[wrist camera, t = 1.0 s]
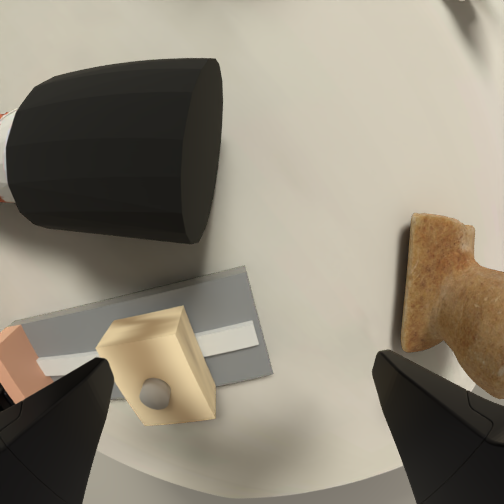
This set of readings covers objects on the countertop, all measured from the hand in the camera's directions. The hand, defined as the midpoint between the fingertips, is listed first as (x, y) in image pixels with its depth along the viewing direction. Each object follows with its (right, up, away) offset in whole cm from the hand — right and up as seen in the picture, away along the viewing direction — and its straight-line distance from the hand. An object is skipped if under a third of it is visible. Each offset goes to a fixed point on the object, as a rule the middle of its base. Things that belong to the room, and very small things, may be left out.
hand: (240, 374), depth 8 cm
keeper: (-7, -5, +12) cm, 15 cm away
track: (-12, -5, +15) cm, 19 cm away
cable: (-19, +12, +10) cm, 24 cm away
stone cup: (+20, +1, +16) cm, 26 cm away
